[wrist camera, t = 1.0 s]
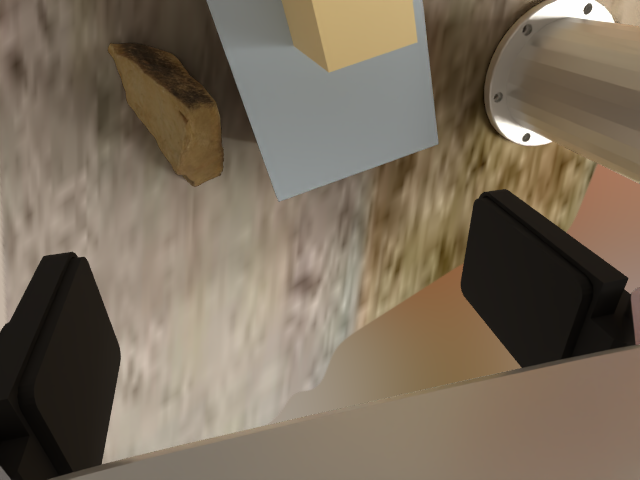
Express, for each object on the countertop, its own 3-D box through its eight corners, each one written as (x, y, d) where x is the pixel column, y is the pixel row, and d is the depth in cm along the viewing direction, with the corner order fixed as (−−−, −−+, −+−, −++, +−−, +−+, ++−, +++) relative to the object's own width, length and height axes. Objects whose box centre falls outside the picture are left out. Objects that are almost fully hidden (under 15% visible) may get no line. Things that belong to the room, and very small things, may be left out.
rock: (250, 200, 37) (274, 80, 31) (184, 250, 30) (200, 108, 25) (142, 148, 39) (147, 27, 33) (58, 184, 32) (45, 39, 27)
